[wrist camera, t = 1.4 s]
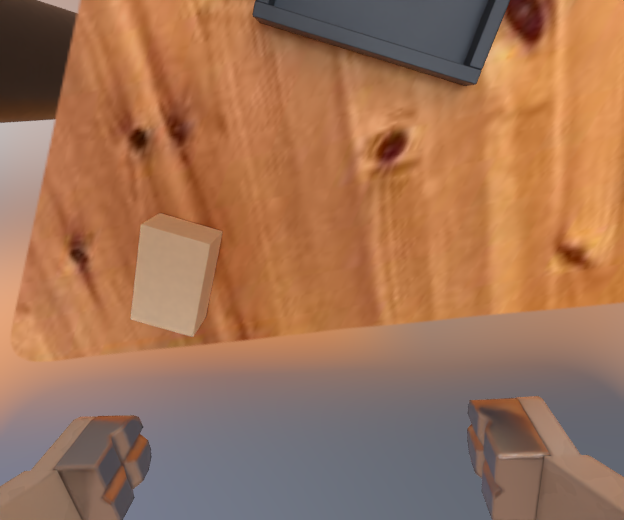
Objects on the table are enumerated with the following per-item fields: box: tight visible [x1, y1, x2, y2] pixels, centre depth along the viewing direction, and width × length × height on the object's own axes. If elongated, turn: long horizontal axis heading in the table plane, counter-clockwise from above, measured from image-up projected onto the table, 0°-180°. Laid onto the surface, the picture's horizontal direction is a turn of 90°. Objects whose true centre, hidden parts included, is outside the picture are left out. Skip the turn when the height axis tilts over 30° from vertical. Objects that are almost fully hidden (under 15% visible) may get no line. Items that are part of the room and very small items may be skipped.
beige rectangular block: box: [130, 213, 223, 337], centre depth 30 cm, size 5×8×3 cm, turn 165°
